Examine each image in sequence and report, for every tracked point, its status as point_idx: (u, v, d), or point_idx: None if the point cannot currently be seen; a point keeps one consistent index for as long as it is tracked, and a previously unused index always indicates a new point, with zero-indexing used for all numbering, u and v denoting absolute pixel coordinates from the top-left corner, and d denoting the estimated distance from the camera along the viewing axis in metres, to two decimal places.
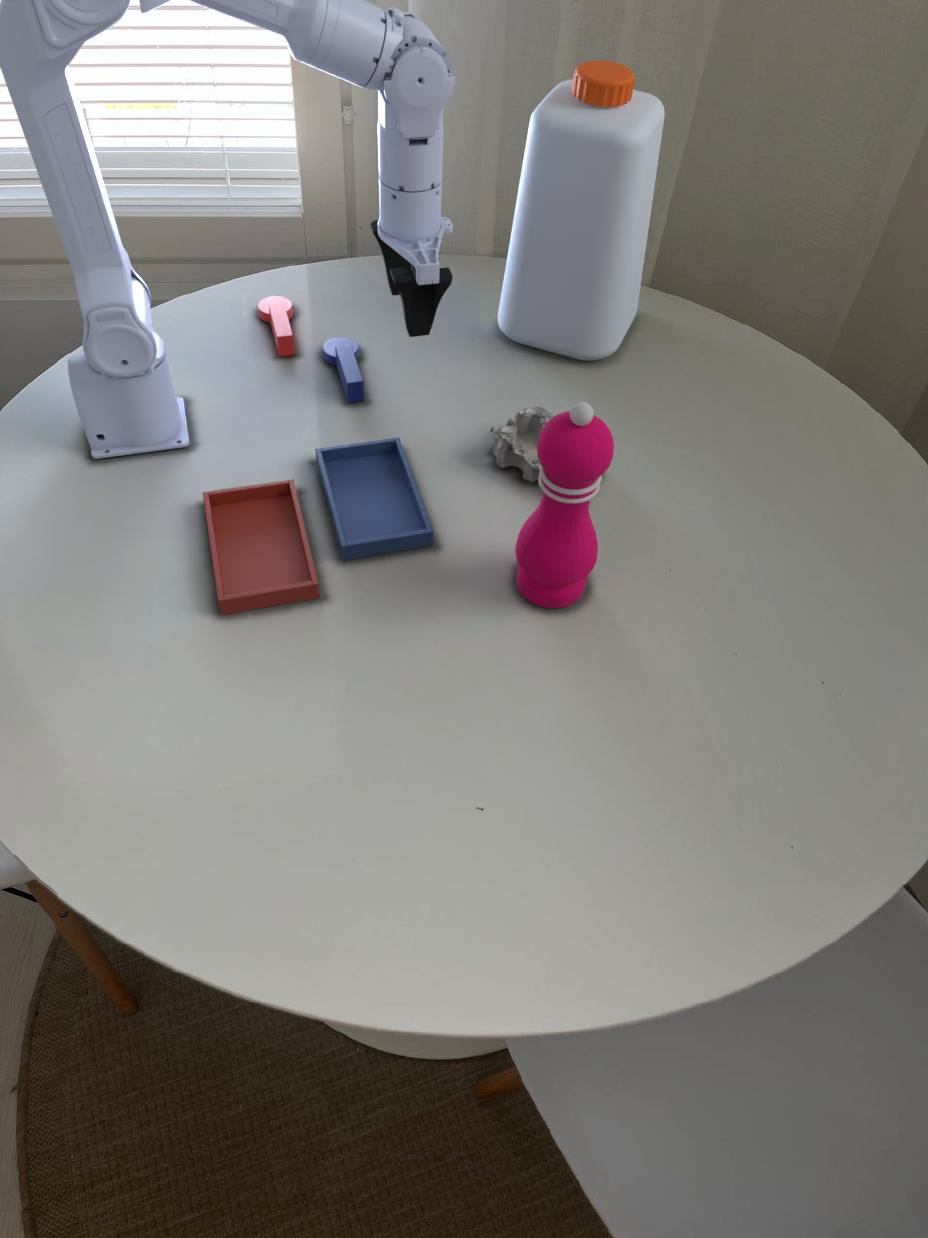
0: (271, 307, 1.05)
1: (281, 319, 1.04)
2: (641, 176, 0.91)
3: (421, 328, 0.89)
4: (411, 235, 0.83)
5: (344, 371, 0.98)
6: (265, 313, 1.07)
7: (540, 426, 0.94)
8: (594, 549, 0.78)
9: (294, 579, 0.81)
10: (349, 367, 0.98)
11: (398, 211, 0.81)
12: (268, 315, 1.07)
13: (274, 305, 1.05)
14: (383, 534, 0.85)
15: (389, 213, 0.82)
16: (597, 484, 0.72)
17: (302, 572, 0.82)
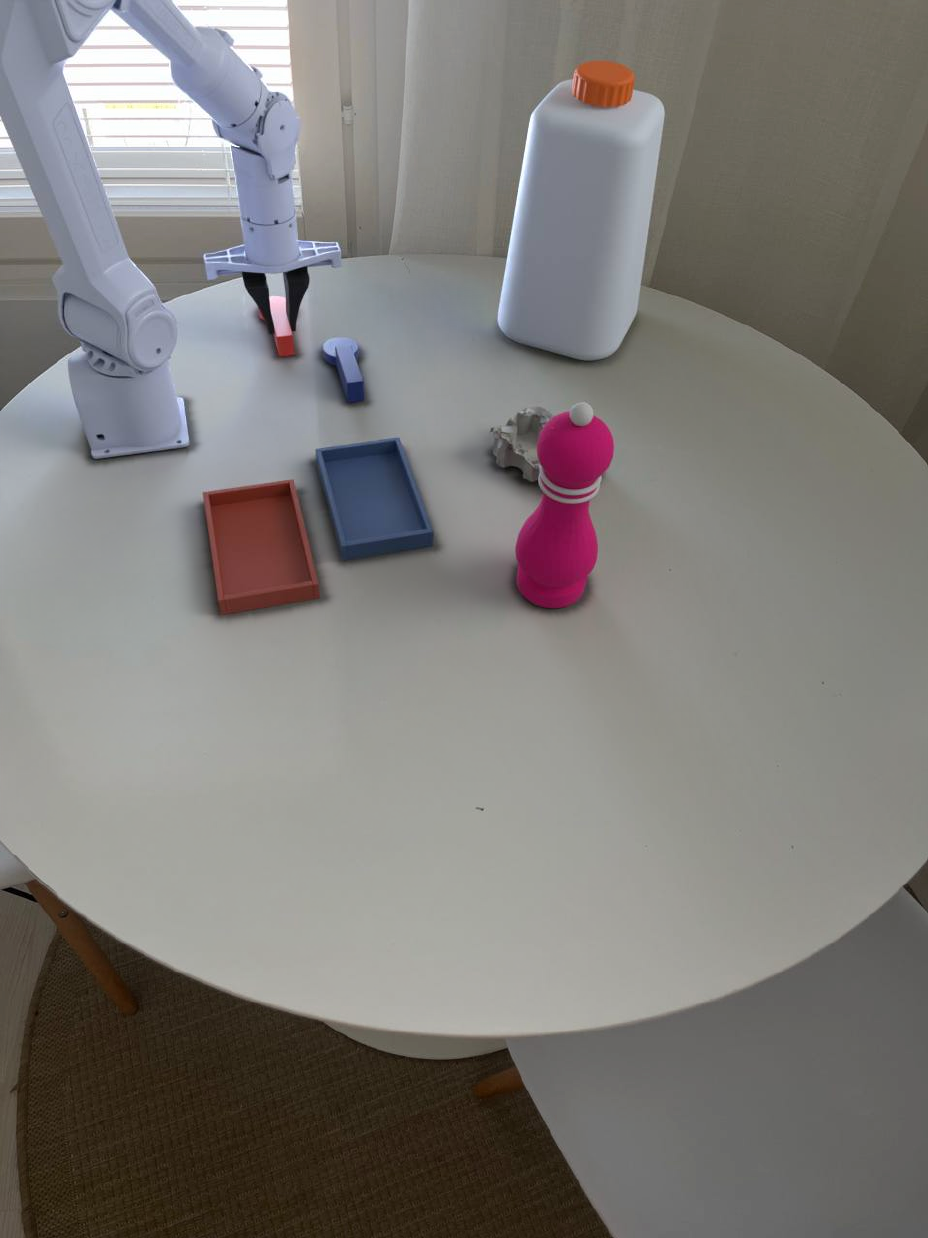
0: (270, 307, 1.05)
1: (280, 319, 1.04)
2: (641, 176, 0.91)
3: None
4: (298, 248, 0.97)
5: (344, 371, 0.98)
6: None
7: (540, 426, 0.94)
8: (594, 549, 0.78)
9: (294, 579, 0.81)
10: (349, 367, 0.98)
11: (294, 234, 0.95)
12: None
13: (274, 305, 1.05)
14: (383, 534, 0.85)
15: (289, 243, 0.95)
16: (597, 484, 0.72)
17: (302, 572, 0.82)
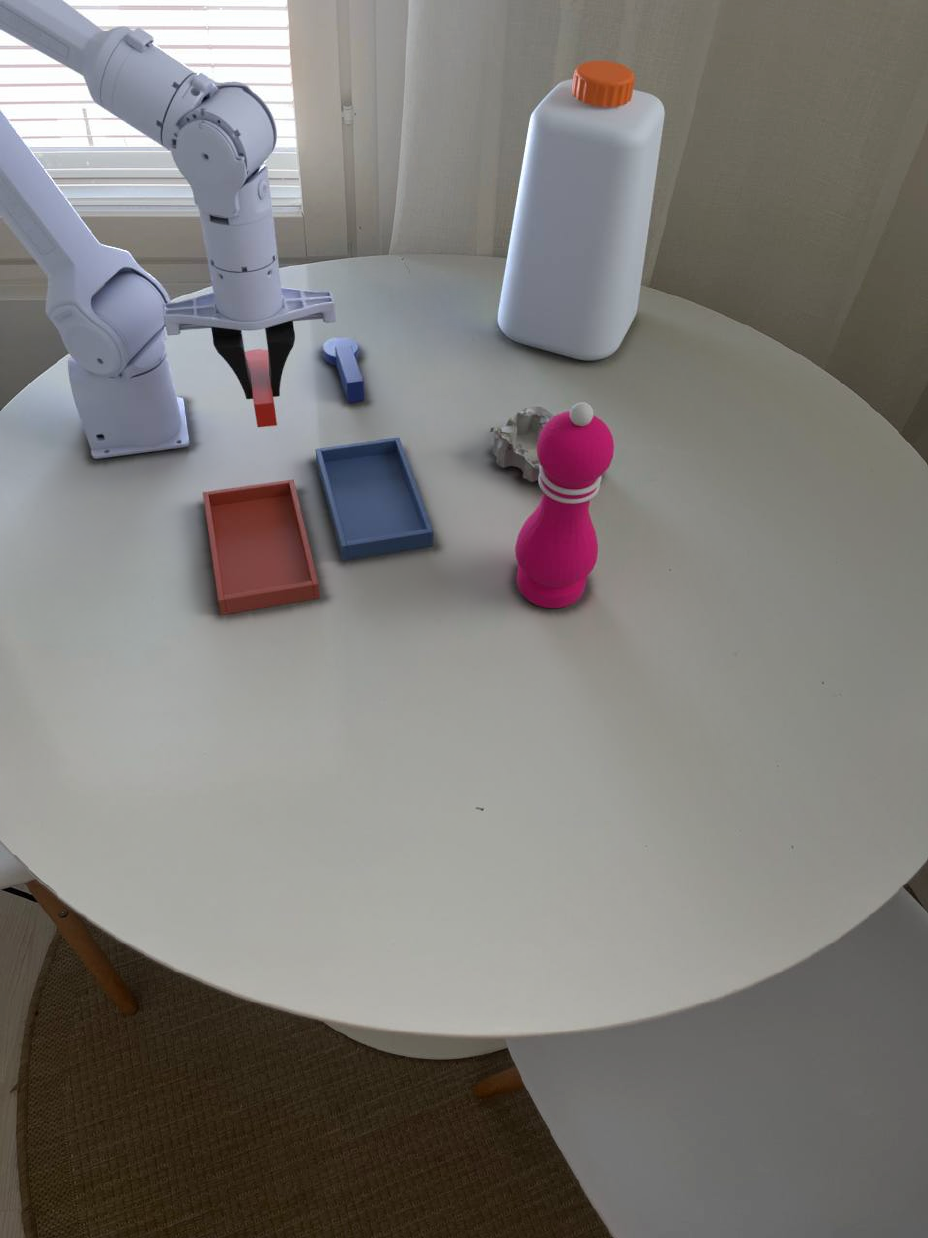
0: (250, 366, 0.86)
1: (261, 381, 0.84)
2: (641, 176, 0.91)
3: None
4: (282, 299, 0.78)
5: (344, 371, 0.98)
6: None
7: (540, 426, 0.94)
8: (594, 549, 0.78)
9: (294, 579, 0.81)
10: (349, 367, 0.98)
11: (275, 283, 0.76)
12: None
13: (255, 363, 0.86)
14: (383, 534, 0.85)
15: (267, 294, 0.76)
16: (597, 484, 0.72)
17: (302, 572, 0.82)
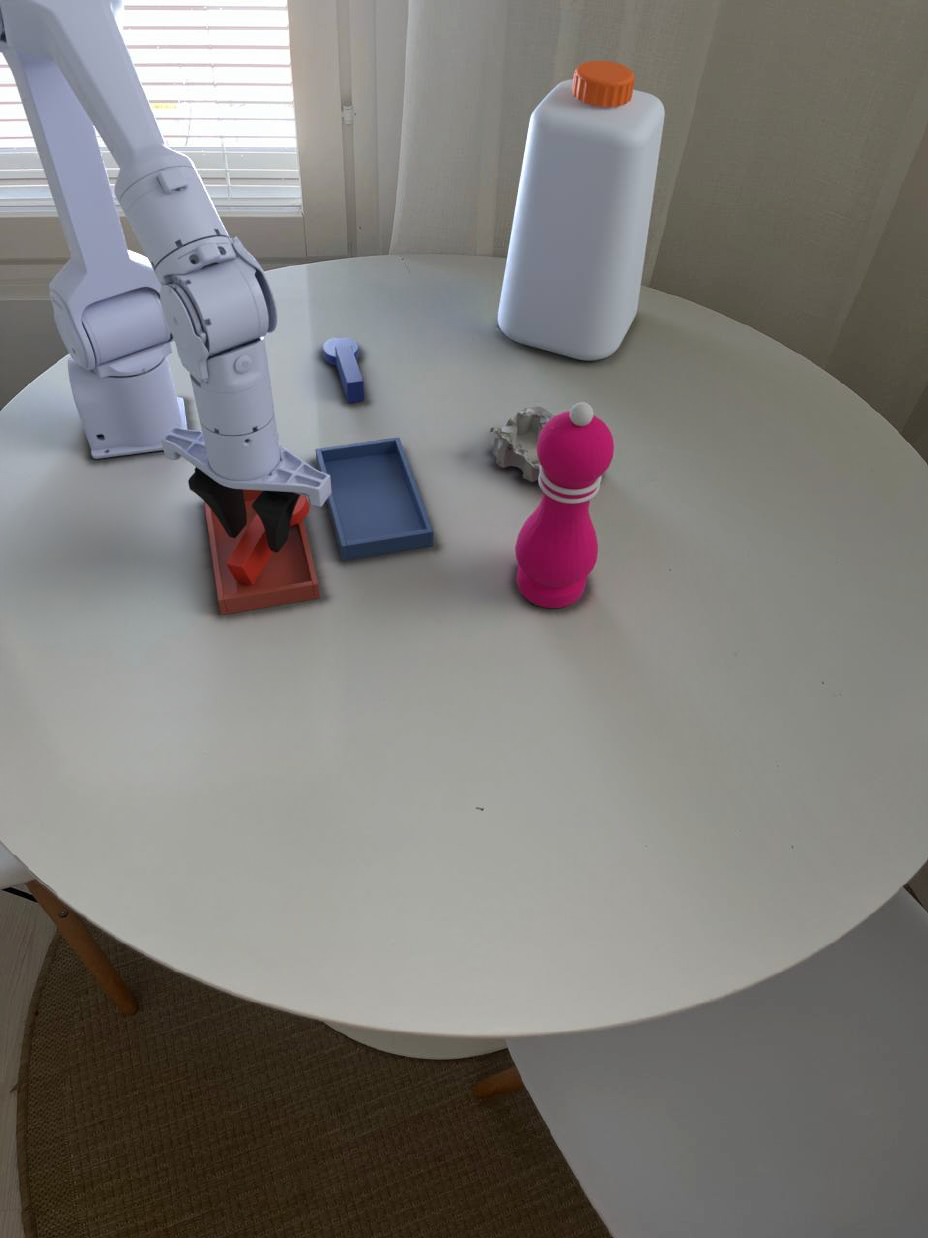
0: None
1: (252, 536, 0.80)
2: (641, 176, 0.91)
3: (283, 537, 0.79)
4: (271, 466, 0.72)
5: (344, 371, 0.98)
6: None
7: (540, 426, 0.94)
8: (594, 549, 0.78)
9: (294, 579, 0.81)
10: (349, 367, 0.98)
11: (255, 451, 0.70)
12: None
13: None
14: (383, 534, 0.85)
15: (243, 459, 0.70)
16: (597, 484, 0.72)
17: (302, 572, 0.82)
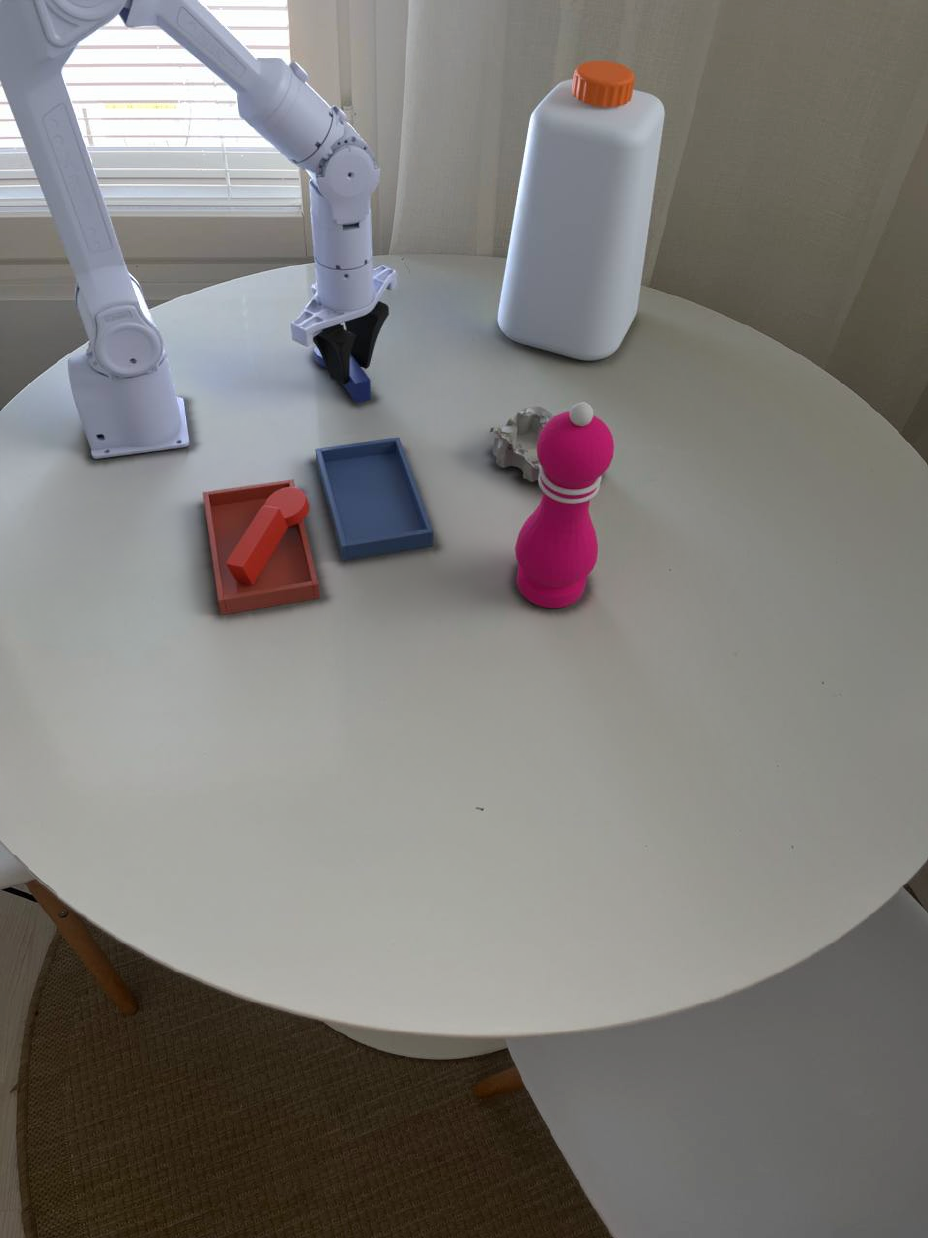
0: (258, 513, 0.82)
1: (252, 536, 0.80)
2: (641, 176, 0.91)
3: None
4: None
5: None
6: None
7: (540, 426, 0.94)
8: (594, 549, 0.78)
9: (294, 579, 0.81)
10: (351, 367, 0.98)
11: None
12: None
13: (264, 511, 0.82)
14: (383, 534, 0.85)
15: (372, 278, 0.91)
16: (597, 484, 0.72)
17: (302, 572, 0.82)
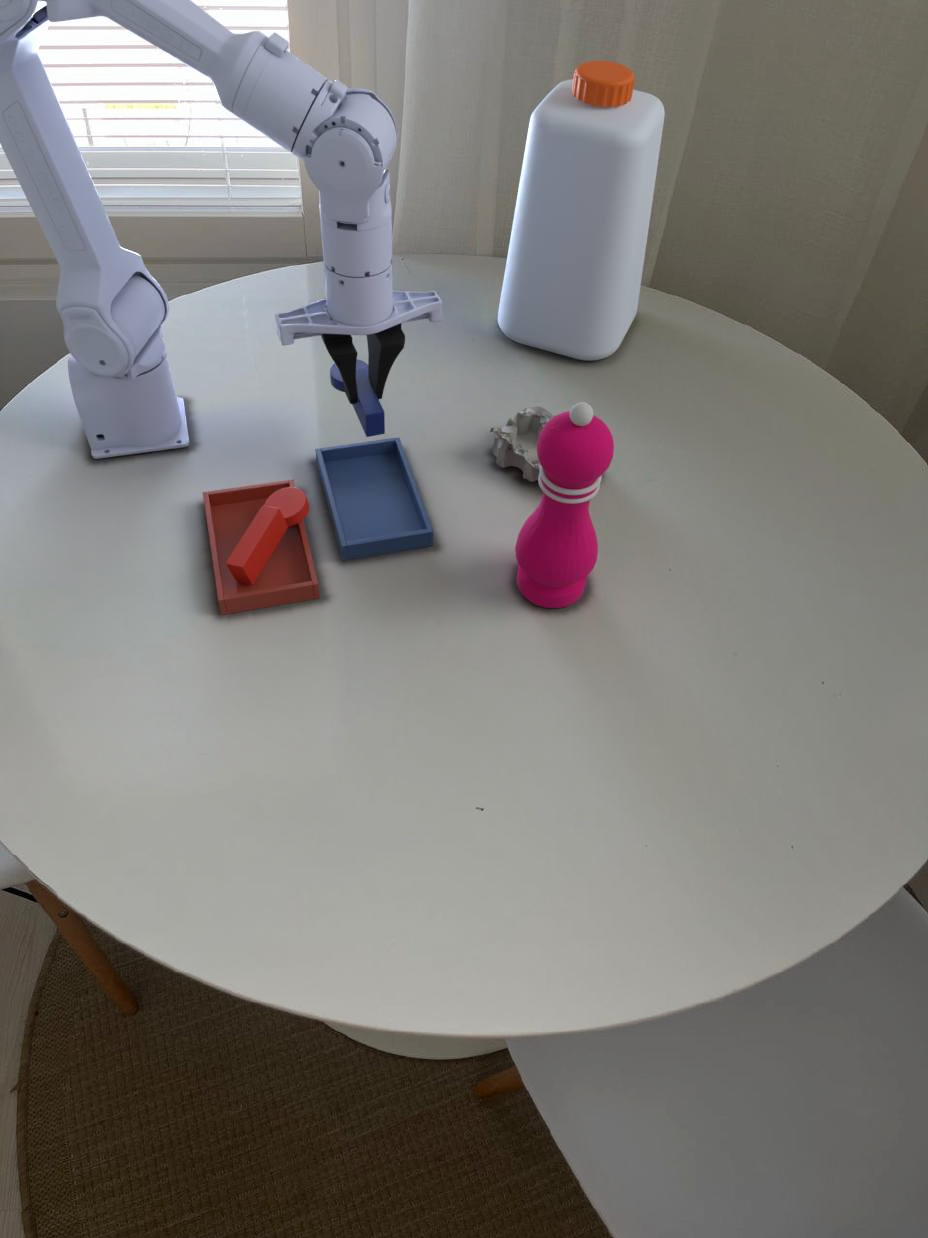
0: (258, 513, 0.82)
1: (252, 536, 0.80)
2: (641, 176, 0.91)
3: None
4: None
5: (360, 400, 0.84)
6: None
7: (540, 426, 0.94)
8: (594, 549, 0.78)
9: (294, 579, 0.81)
10: (365, 395, 0.84)
11: (390, 286, 0.76)
12: None
13: (264, 511, 0.82)
14: (383, 534, 0.85)
15: (385, 297, 0.76)
16: (597, 484, 0.72)
17: (302, 572, 0.82)
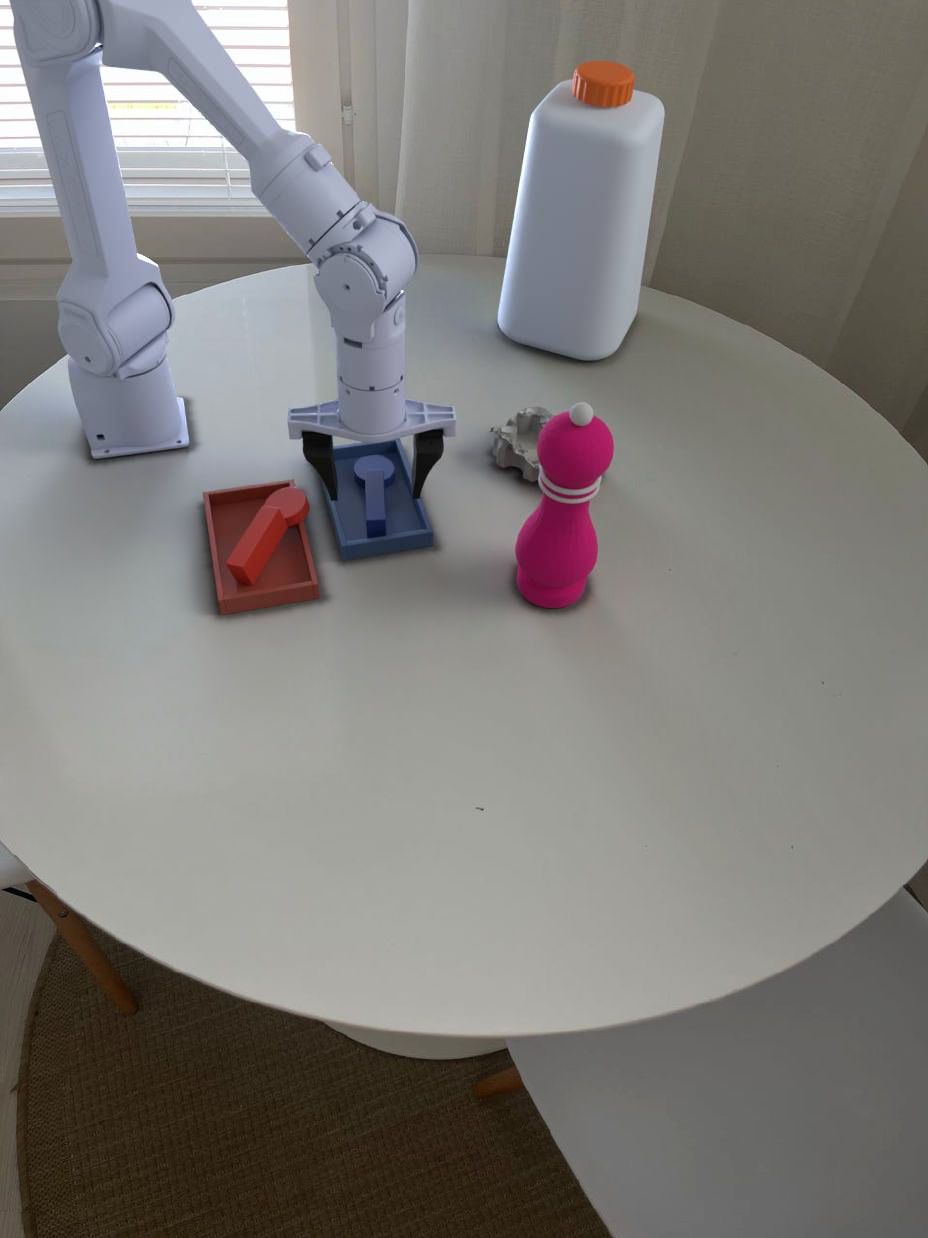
0: (258, 513, 0.82)
1: (252, 536, 0.80)
2: (641, 176, 0.91)
3: None
4: (405, 412, 0.78)
5: (367, 504, 0.84)
6: None
7: (540, 426, 0.94)
8: (594, 549, 0.78)
9: (294, 579, 0.81)
10: (374, 499, 0.85)
11: (400, 400, 0.76)
12: None
13: (264, 511, 0.82)
14: None
15: (391, 410, 0.76)
16: (597, 484, 0.72)
17: (302, 572, 0.82)
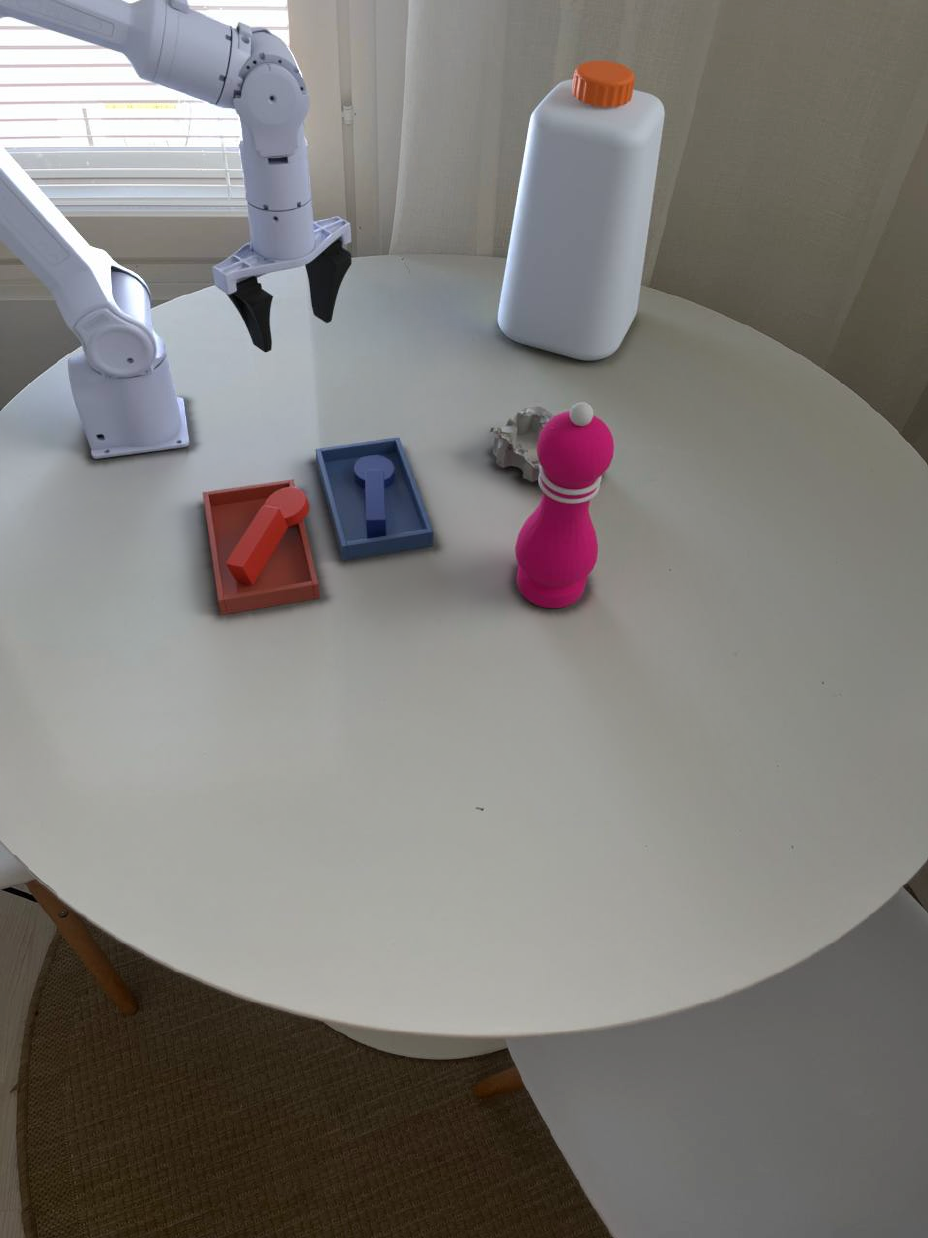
0: (258, 513, 0.82)
1: (252, 536, 0.80)
2: (641, 176, 0.91)
3: None
4: None
5: (367, 504, 0.84)
6: None
7: (540, 426, 0.94)
8: (594, 549, 0.78)
9: (294, 579, 0.81)
10: (374, 499, 0.85)
11: (312, 214, 0.82)
12: None
13: (264, 511, 0.82)
14: None
15: (312, 225, 0.81)
16: (597, 484, 0.72)
17: (302, 572, 0.82)
